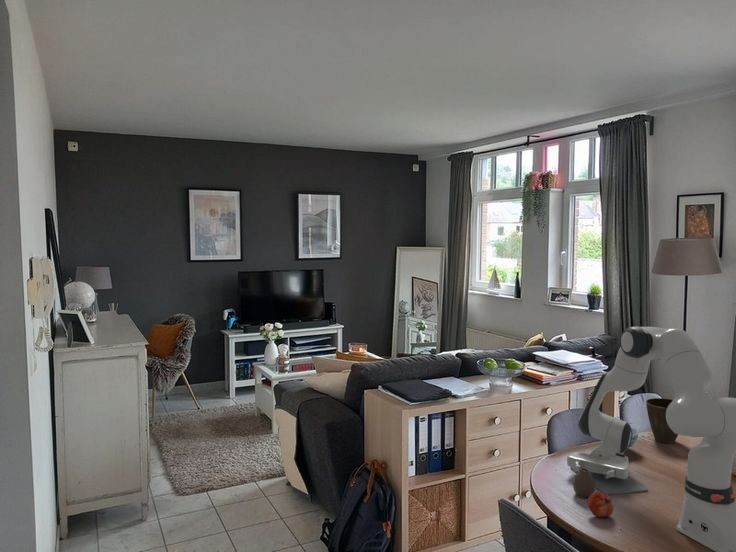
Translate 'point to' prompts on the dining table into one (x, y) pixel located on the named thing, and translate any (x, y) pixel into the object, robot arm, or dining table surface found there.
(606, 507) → the pomegranate
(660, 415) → the plant pot
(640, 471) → the dining table surface
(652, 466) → the dining table surface
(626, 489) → the mat
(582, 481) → the vase
